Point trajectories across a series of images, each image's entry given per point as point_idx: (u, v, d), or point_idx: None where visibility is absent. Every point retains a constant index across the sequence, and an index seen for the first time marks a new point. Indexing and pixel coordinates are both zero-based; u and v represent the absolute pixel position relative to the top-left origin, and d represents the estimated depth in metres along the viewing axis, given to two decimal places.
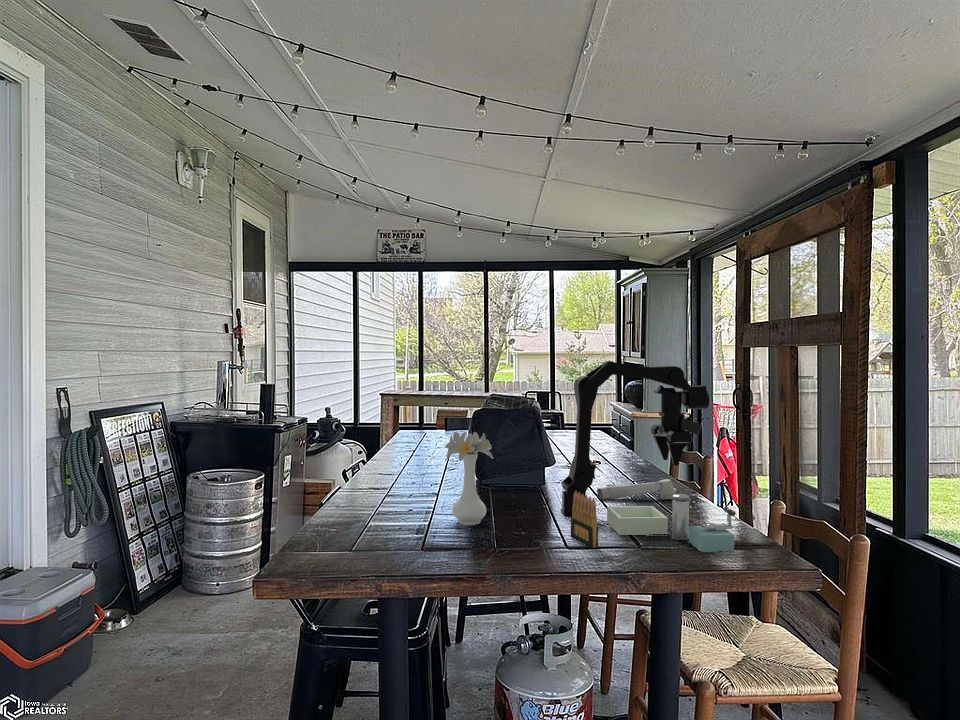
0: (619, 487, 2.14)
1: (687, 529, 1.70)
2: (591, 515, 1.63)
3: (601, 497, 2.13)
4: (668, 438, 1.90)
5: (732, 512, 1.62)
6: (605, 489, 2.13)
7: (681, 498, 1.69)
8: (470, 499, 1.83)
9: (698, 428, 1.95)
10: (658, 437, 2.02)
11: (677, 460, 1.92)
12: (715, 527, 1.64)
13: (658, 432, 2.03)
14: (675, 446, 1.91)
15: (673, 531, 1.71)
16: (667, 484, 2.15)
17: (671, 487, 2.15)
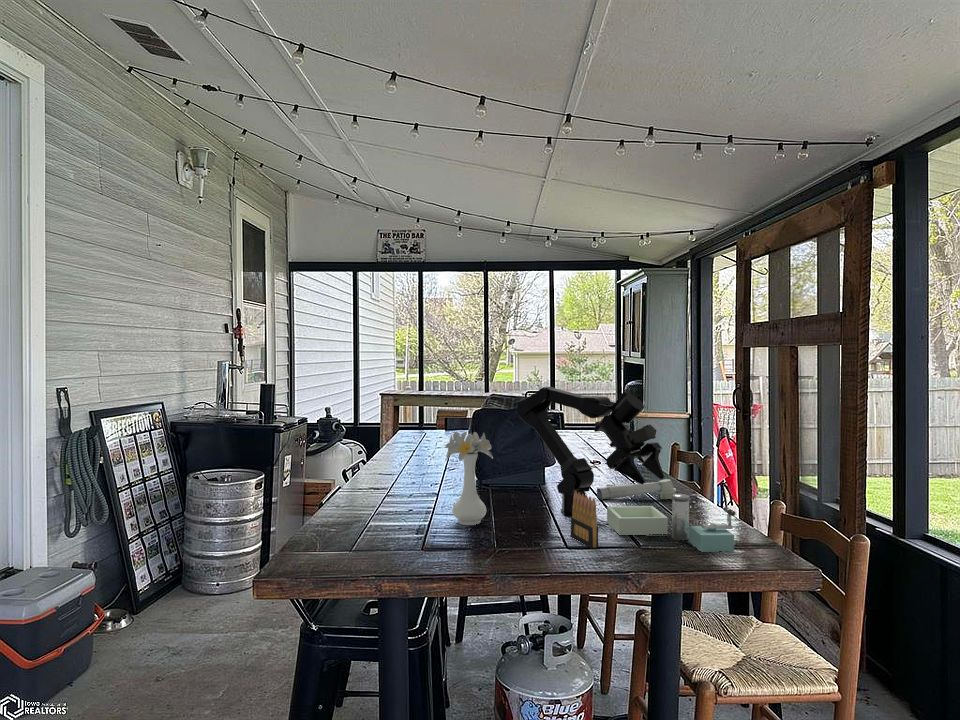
0: (619, 487, 2.14)
1: (687, 529, 1.70)
2: (591, 515, 1.63)
3: (601, 497, 2.13)
4: None
5: (732, 512, 1.62)
6: (605, 489, 2.13)
7: (681, 498, 1.69)
8: (470, 499, 1.83)
9: (642, 433, 1.76)
10: (644, 462, 1.85)
11: (639, 478, 1.74)
12: (715, 527, 1.64)
13: (642, 458, 1.86)
14: (626, 467, 1.76)
15: (673, 531, 1.71)
16: (667, 484, 2.14)
17: (671, 487, 2.15)
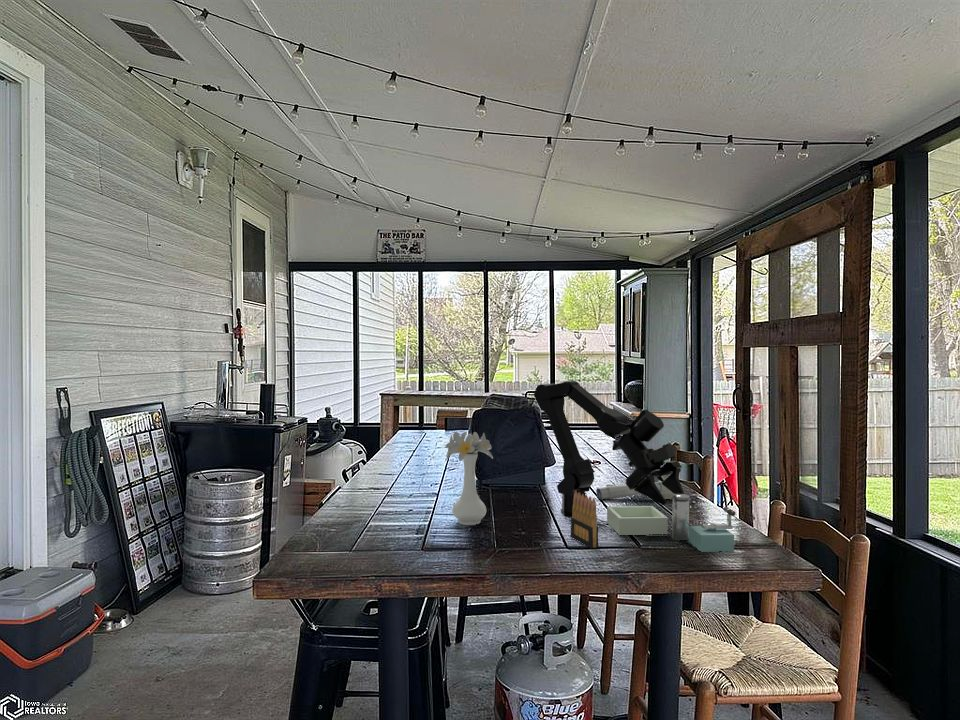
0: (618, 487, 2.14)
1: (687, 529, 1.70)
2: (591, 515, 1.63)
3: (600, 497, 2.13)
4: None
5: (732, 512, 1.62)
6: (604, 489, 2.13)
7: (681, 498, 1.69)
8: (470, 499, 1.83)
9: (662, 452, 1.72)
10: (664, 482, 1.80)
11: (659, 499, 1.70)
12: (715, 527, 1.64)
13: (662, 477, 1.81)
14: (646, 488, 1.72)
15: (673, 531, 1.71)
16: None
17: None
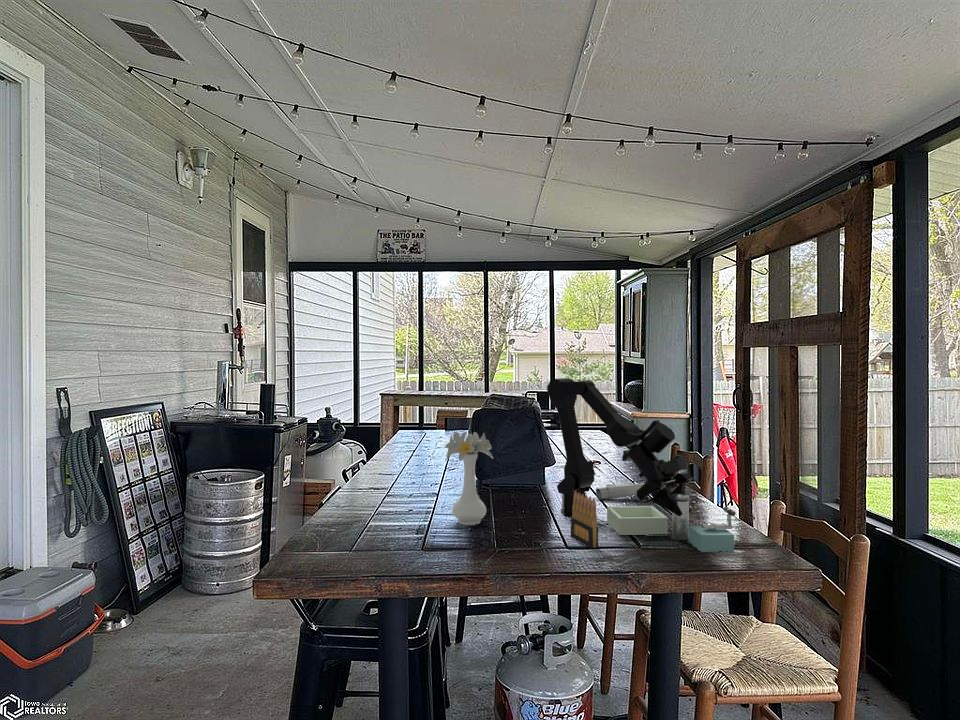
0: (618, 487, 2.14)
1: (687, 529, 1.70)
2: (591, 515, 1.63)
3: (600, 497, 2.13)
4: None
5: (732, 512, 1.62)
6: (604, 489, 2.13)
7: (681, 498, 1.69)
8: (470, 499, 1.83)
9: (673, 464, 1.70)
10: None
11: (676, 510, 1.69)
12: (715, 527, 1.64)
13: None
14: (662, 498, 1.71)
15: (673, 531, 1.71)
16: None
17: None
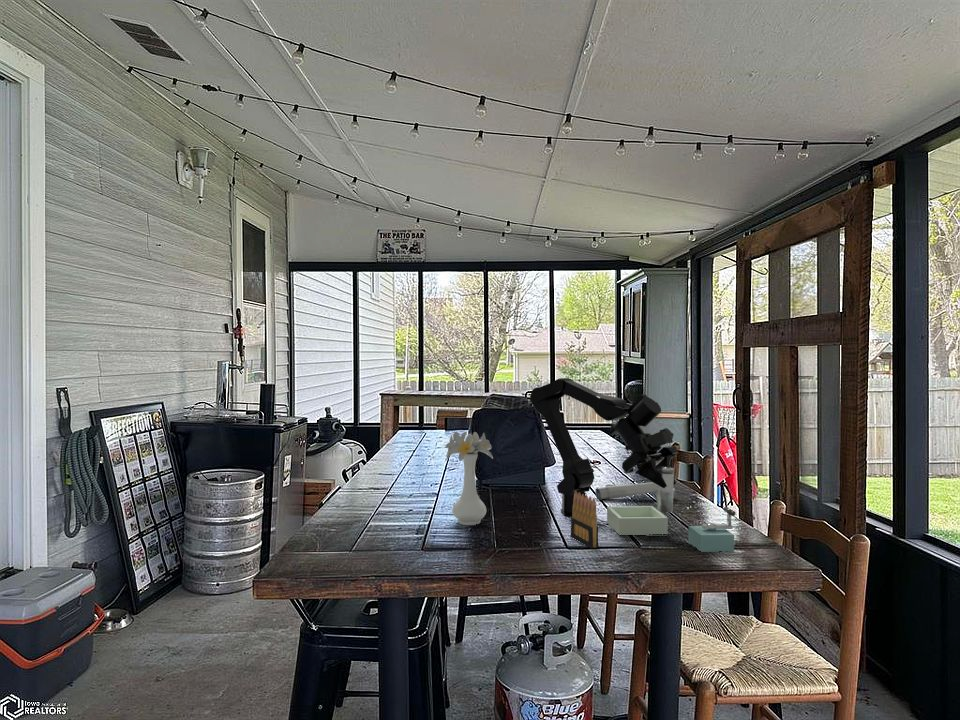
0: (617, 487, 2.14)
1: (671, 501, 1.73)
2: (591, 515, 1.63)
3: (599, 497, 2.13)
4: None
5: (732, 512, 1.62)
6: (603, 489, 2.13)
7: (666, 470, 1.72)
8: (470, 499, 1.83)
9: (659, 437, 1.73)
10: None
11: (660, 482, 1.72)
12: (715, 527, 1.64)
13: None
14: (647, 471, 1.74)
15: (657, 503, 1.74)
16: None
17: None
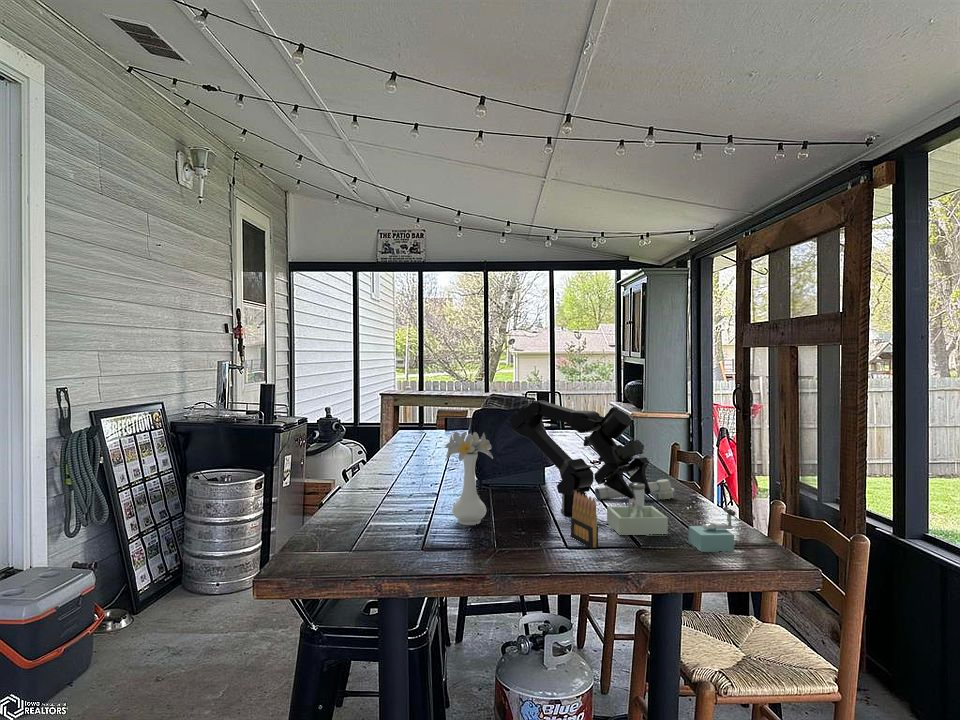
0: None
1: (642, 515, 1.79)
2: (591, 515, 1.63)
3: (599, 497, 2.13)
4: None
5: (732, 512, 1.62)
6: (603, 489, 2.13)
7: (636, 486, 1.78)
8: (470, 499, 1.83)
9: (629, 449, 1.79)
10: (631, 477, 1.87)
11: (627, 493, 1.77)
12: (715, 527, 1.64)
13: (629, 472, 1.88)
14: (615, 482, 1.79)
15: None
16: (665, 484, 2.14)
17: (669, 487, 2.15)
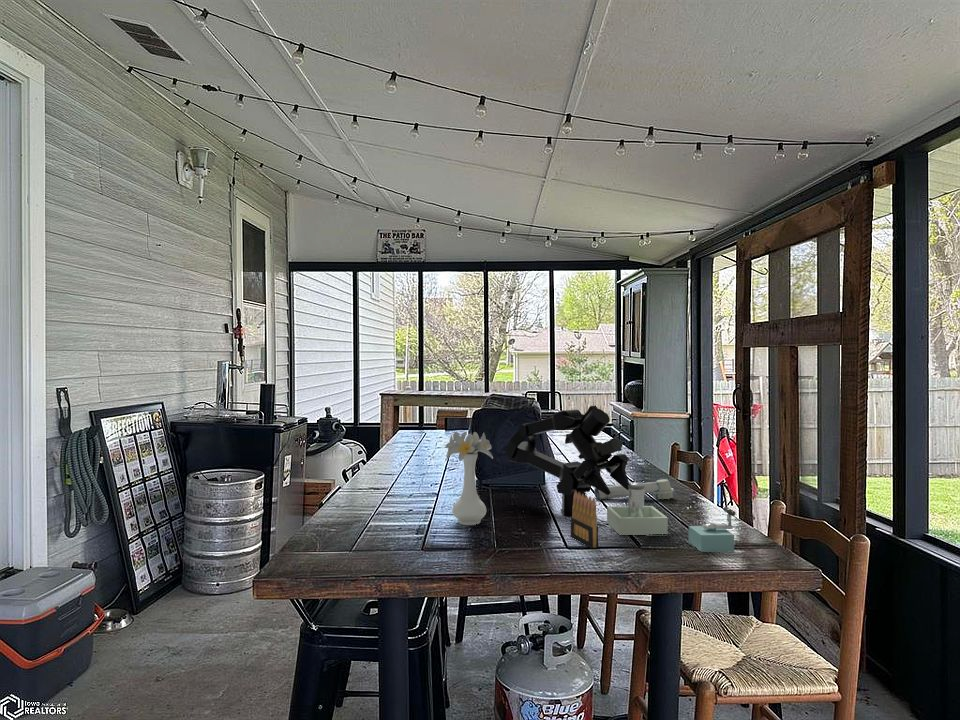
0: (616, 487, 2.14)
1: (642, 515, 1.79)
2: (591, 515, 1.63)
3: (598, 497, 2.13)
4: None
5: (732, 512, 1.62)
6: None
7: (636, 486, 1.78)
8: (470, 499, 1.83)
9: (608, 446, 1.84)
10: (612, 473, 1.92)
11: (604, 489, 1.81)
12: (715, 527, 1.64)
13: (610, 469, 1.93)
14: (593, 479, 1.83)
15: None
16: (665, 484, 2.14)
17: (668, 487, 2.15)
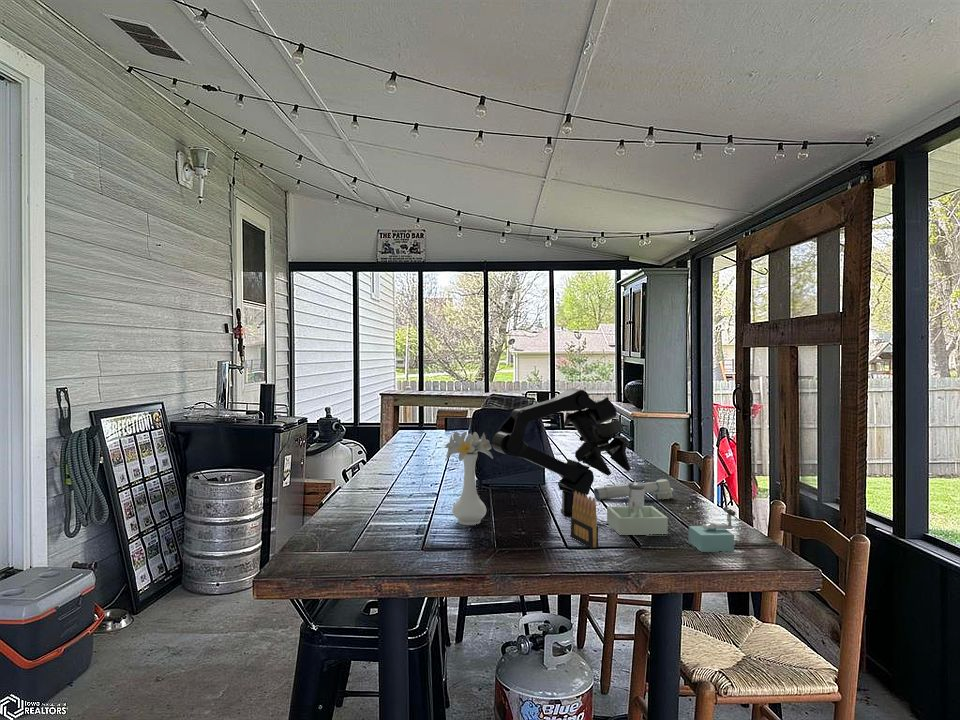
0: (616, 487, 2.14)
1: (642, 515, 1.79)
2: (591, 515, 1.63)
3: (598, 497, 2.13)
4: None
5: (732, 512, 1.62)
6: (602, 489, 2.13)
7: (636, 486, 1.78)
8: (470, 499, 1.83)
9: (608, 427, 1.87)
10: (612, 455, 1.95)
11: (605, 470, 1.84)
12: (715, 527, 1.64)
13: (610, 451, 1.96)
14: (593, 460, 1.86)
15: None
16: (664, 484, 2.14)
17: (668, 487, 2.15)
